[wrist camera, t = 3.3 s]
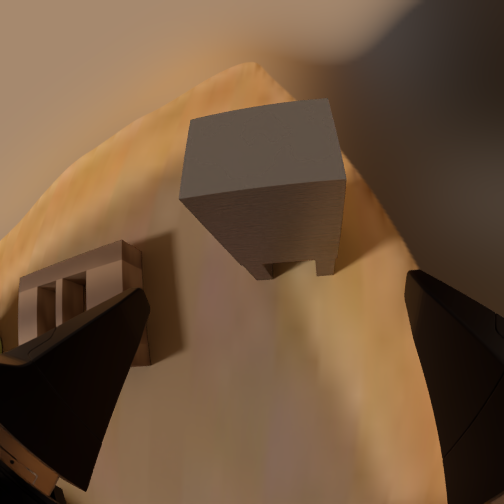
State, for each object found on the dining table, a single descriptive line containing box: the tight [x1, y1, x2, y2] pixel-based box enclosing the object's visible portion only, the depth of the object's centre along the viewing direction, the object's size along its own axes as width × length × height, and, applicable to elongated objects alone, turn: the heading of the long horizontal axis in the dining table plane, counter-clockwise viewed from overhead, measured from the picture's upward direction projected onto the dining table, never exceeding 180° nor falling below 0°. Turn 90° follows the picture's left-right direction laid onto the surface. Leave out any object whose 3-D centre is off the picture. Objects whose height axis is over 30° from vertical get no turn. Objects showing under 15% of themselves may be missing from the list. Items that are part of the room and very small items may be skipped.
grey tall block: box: [179, 98, 346, 280], centre depth 16 cm, size 4×6×12 cm
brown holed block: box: [18, 240, 151, 367], centre depth 23 cm, size 10×16×3 cm, turn 101°
